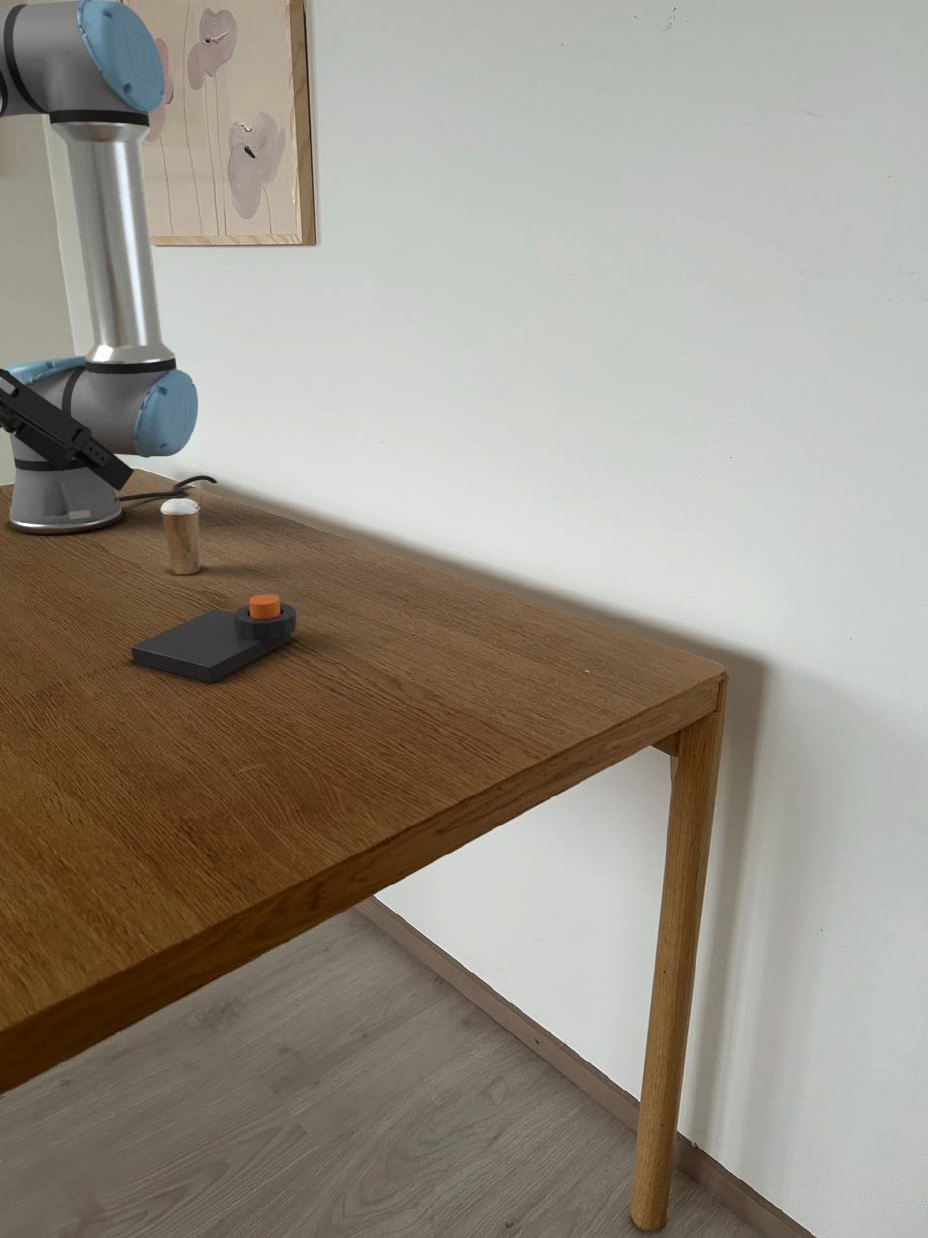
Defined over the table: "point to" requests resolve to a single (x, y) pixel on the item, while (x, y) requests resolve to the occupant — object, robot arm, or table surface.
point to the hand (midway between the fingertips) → (96, 470)
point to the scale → (215, 643)
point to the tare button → (264, 606)
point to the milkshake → (182, 534)
